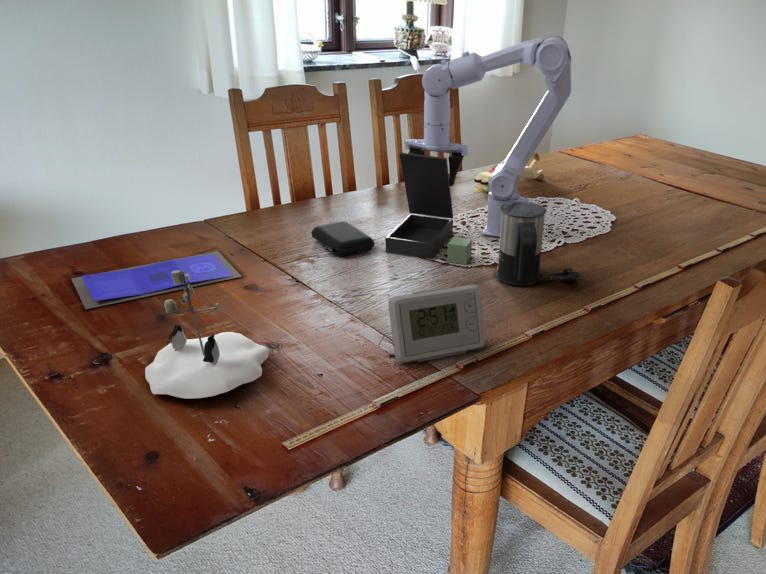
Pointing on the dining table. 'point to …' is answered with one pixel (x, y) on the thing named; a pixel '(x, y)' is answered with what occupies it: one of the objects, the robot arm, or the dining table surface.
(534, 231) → the milk frother
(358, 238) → the carrying case
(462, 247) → the block
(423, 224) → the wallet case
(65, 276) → the dining table surface
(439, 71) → the robot arm
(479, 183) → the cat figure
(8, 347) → the dining table surface
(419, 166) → the cover
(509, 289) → the dining table surface
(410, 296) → the digital clock
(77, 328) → the dining table surface
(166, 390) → the figurine
